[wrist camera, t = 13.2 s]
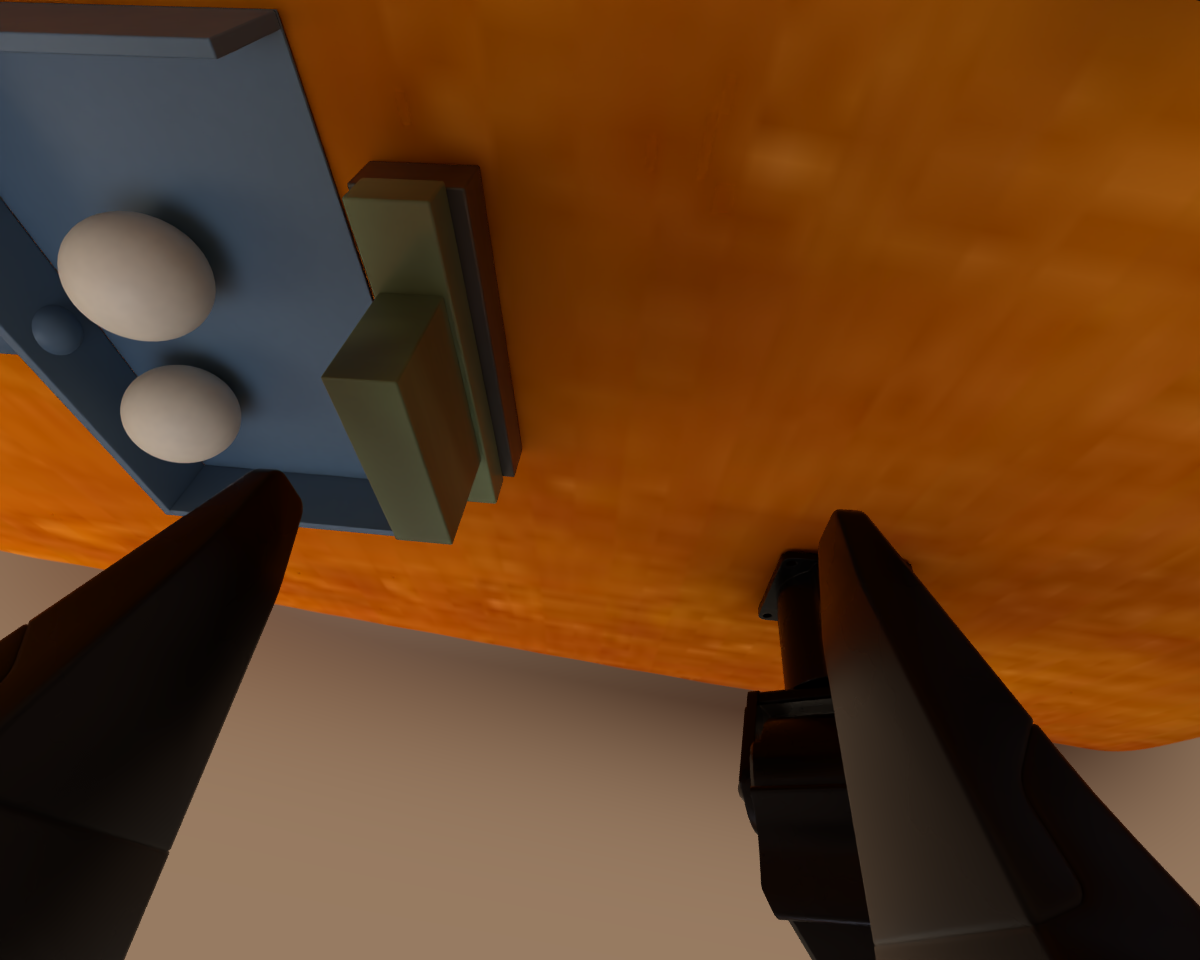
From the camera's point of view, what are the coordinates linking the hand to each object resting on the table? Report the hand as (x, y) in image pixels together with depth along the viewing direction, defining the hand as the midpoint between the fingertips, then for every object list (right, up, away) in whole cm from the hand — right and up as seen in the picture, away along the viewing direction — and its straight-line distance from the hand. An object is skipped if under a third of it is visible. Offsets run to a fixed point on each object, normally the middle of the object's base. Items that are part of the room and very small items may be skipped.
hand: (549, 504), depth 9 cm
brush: (-4, +6, +12) cm, 14 cm away
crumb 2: (-15, +4, +15) cm, 22 cm away
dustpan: (-19, +7, +13) cm, 24 cm away
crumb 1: (-13, +8, +10) cm, 19 cm away
